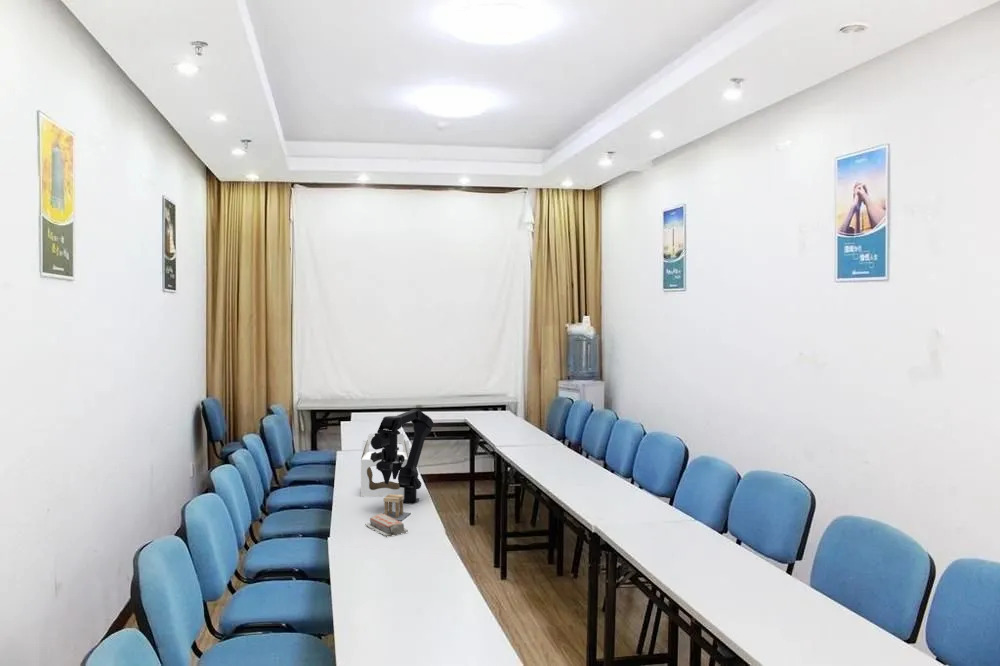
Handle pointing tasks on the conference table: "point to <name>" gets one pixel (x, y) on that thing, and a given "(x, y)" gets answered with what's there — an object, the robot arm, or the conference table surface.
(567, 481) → the conference table surface
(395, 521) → the packaged product
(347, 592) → the conference table surface
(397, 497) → the stool
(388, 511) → the mat
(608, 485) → the conference table surface
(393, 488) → the gable box
